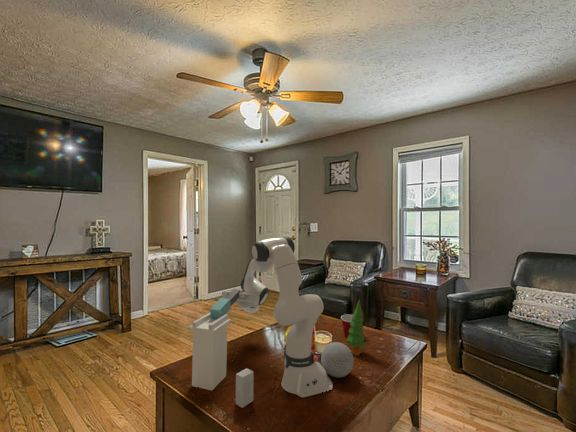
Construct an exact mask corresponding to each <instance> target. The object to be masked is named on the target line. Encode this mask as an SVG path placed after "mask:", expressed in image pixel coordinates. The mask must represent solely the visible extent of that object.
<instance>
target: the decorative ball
mask: <svg viewBox="0 0 576 432" xmlns="http://www.w3.org/2000/svg"><path fill="white" fill-rule="evenodd" d="M320 357H321V358H320V362H321V365H322V366H323V367H324V369H325V371H326V373H327V375H330V376H331V377H333V378H337V379H339V378H344V377H346V376H348V374H350V373H351V371H352V370H353V367H354V363H355V362H354V361H355V360H354V355H353V354H352V353H351V349H350V348H349V346H347V345H346V344H345V343H342V342H338V341H334V342H329V344H327V345H326V346H324V349H323V350H322V351H321V355H320Z"/></svg>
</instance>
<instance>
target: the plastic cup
mask: <svg viewBox="0 0 576 432" xmlns="http://www.w3.org/2000/svg"><path fill="white" fill-rule="evenodd" d="M352 317H353V314H343V315H341V316H340V319H341V322H342V329H343V336H344V337H345V338H346V339H347V338H348V336H349V334H350V332H348V331H349V329H350V327H351V325H350V323H351V321H352Z"/></svg>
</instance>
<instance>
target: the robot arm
mask: <svg viewBox="0 0 576 432" xmlns="http://www.w3.org/2000/svg"><path fill="white" fill-rule="evenodd" d="M295 248H296V246H295V242H294V240H293V239H292V238H291V237H287V236H283V237H275V238H274V237H272V238H271V237H270V238H266V239H265V238H264V239H262V240H257V241H255V242H254V243H253V244H252V246H251V254H252V258H251V259H250V260H249V261H248V263H247V266H246V269H245V271H244V274H243V277H242V279H241V281H240V290H242V291H243V292H240V293H238V296H239V298H238V299H237V300H236V302H235V303H236V306H237V307H238V308H240V309H242V310H244V311H245V312H246V313H249V314H254V313H257V312H258V311H259V310H260V307H261V305H263V304H264V303H265V302H266V301H267V300H268V298H269V295H270V294H269V288H268V287H267V286H266V285H265V284H264V283H262V282H261V281H259V280H258V279H257V278H256V276H254V275H255V272H257V273H262V274H263V273H267V272H269V271H271V269H272V268H274V271H275V274H276V278H277V283H278V287H279V288H278V289H279V295H278V300H277V301H276V303H275V305H274V307H273V318H274V320H275V321H276V323H278V325H280V326H283V327H284V326H285V327H286V326H287V327H289V326H292V328H291V329H290V330H289V331H288V333H287V336H286V341H285V344H286V345H285V351H284V358H283V359H284V360H283V362H284V370H283V371H284V372H283V377H282V380H281V384H280V385H281V387H282V389H283V390H284V391H286V392H288V393H290V394H293V395H297V397H299V398H306V397H312V396H314V395H318V394H322V392H323V393H326V391H327V392H330V391H329V390H331V391H332V390H333V388H334V387H333V386H334V385H333V381H332V380H331V378H330V377H329V376H328V373H327V372H326V371H325V369H324V367H323V366H322V363H320V362H318V361H319V356H317V355H316V354H315V352H313V351H312V340H313V339H312V337H313V332H314V329H315V327H316V326H315V325H316V323H317V321H318V320H319V317H320V316H321V315H322V314H323V312H324V308H325V307H324V302H323V300H322V298H321V297H320V296H319V295H317V294H315V293H314V294H311V293H309V294H302V295H300V294H299V293H300V291H299V290H300V289H299V288H300V286H301V285H302V283H303V276H302V272H301V270H300V267H299V262H298V261H297V258H296V255H295V250H296V249H295ZM231 292H232V291H226V290H225V291H224V290H223V291H222V293H221V298H226V297H227V296H228V295H229V294H230V293H231Z"/></svg>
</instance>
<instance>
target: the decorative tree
mask: <svg viewBox="0 0 576 432" xmlns="http://www.w3.org/2000/svg"><path fill="white" fill-rule="evenodd" d="M352 315H353V317H352V321H351V323H350V325H351V327H350V329H349V331H348V332H350V334H349V336H348V338H347V337H346V340H347V344H348V345H349V346H350V347H352V349H350V351H351V352H352V353H353V354H360V353H361V354H362V350H361V348H362V347H364V346H365V342H364V341H365V336H364V335H363V333H364V324H363V323H364V322H365V320H364V312H363V309H362V305H361V301H360V298H359V299H358V301H357V304H356V307H355V310H354V312H353V313H352ZM353 354H352V355H353Z"/></svg>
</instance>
